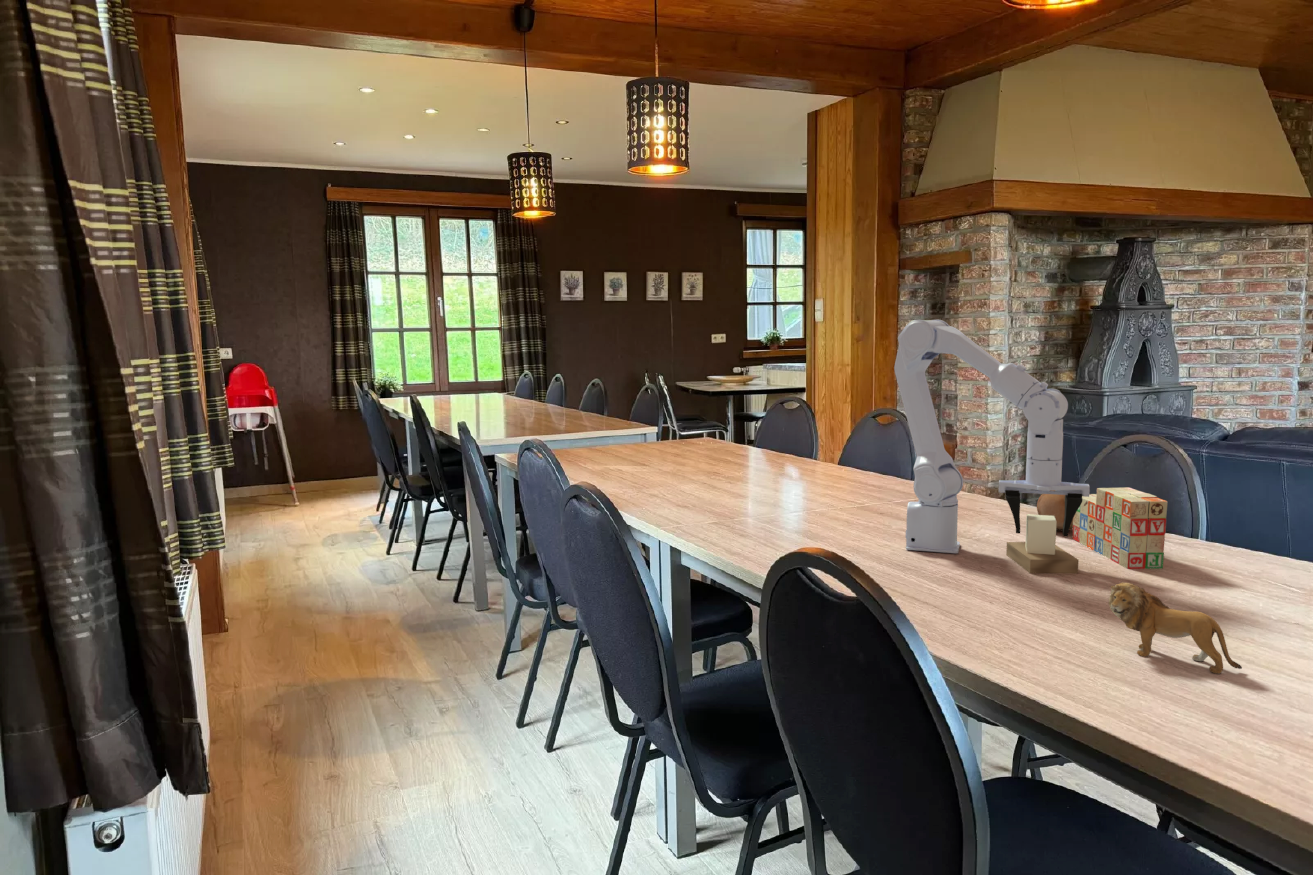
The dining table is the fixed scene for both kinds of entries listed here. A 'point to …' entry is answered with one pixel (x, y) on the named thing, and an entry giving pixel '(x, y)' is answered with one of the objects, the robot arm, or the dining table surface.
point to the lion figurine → (1167, 623)
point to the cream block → (1040, 534)
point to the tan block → (1042, 560)
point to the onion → (1053, 508)
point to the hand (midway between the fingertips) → (1041, 533)
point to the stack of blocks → (1123, 526)
